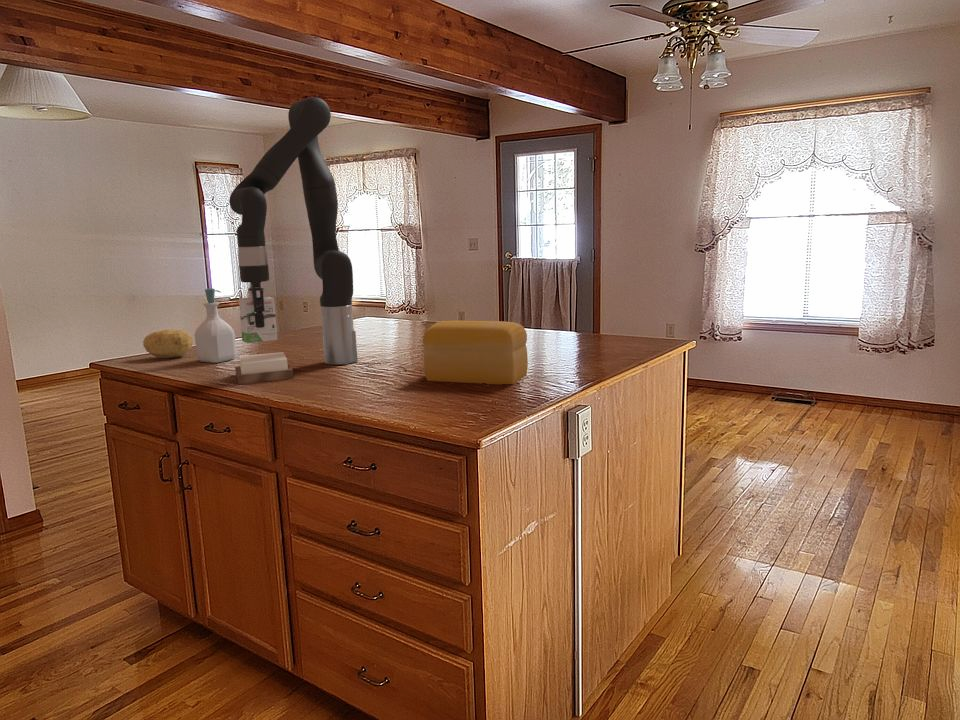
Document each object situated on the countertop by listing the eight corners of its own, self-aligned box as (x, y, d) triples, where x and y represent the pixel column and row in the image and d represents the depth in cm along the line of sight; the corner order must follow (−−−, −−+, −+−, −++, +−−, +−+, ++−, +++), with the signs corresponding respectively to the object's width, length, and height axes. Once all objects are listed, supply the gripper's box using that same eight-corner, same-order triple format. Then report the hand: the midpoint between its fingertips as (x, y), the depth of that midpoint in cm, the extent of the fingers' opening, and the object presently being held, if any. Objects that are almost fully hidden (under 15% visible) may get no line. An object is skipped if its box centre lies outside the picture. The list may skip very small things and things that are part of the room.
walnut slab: (286, 371, 199) (286, 361, 199) (293, 380, 187) (292, 369, 186) (236, 377, 194) (235, 366, 193) (239, 386, 181) (238, 375, 181)
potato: (177, 361, 218) (174, 331, 217) (141, 360, 223) (137, 331, 221) (199, 355, 228) (196, 327, 226) (163, 354, 232) (160, 326, 230)
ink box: (246, 343, 184) (242, 299, 182) (241, 341, 188) (237, 298, 186) (278, 339, 188) (274, 296, 186) (273, 337, 193) (269, 295, 190)
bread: (528, 374, 181) (527, 318, 178) (513, 385, 169) (511, 325, 166) (444, 370, 190) (441, 317, 187) (423, 381, 178) (420, 323, 175)
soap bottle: (240, 359, 218) (232, 287, 214) (214, 364, 210) (206, 290, 206) (220, 356, 223) (213, 286, 219) (194, 362, 216) (186, 289, 211)
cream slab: (284, 362, 197) (283, 352, 197) (288, 370, 186) (287, 359, 186) (240, 366, 193) (239, 356, 193) (241, 374, 182) (240, 363, 182)
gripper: (270, 264, 179) (276, 328, 182) (265, 262, 192) (270, 322, 195) (240, 265, 176) (246, 330, 180) (237, 263, 189) (243, 324, 193)
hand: (259, 325), depth 187 cm, fingers closed on ink box, 5 cm apart
